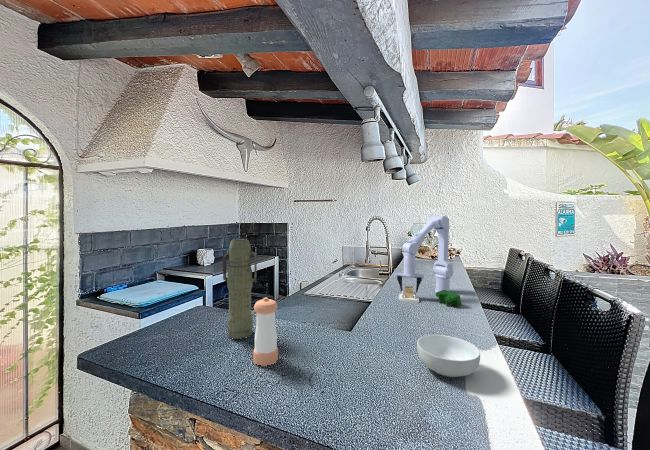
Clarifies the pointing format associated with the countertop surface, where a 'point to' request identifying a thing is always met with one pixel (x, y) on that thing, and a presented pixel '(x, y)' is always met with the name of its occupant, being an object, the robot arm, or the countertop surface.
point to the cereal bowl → (448, 355)
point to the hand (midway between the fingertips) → (409, 291)
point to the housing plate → (414, 299)
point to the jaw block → (408, 292)
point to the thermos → (239, 288)
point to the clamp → (449, 298)
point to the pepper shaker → (265, 333)
